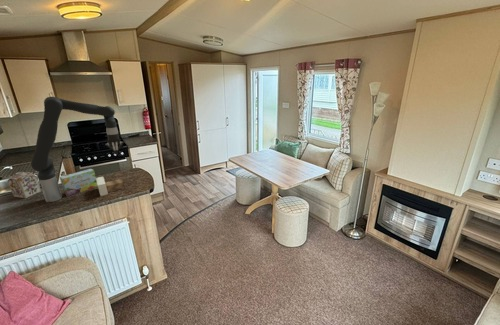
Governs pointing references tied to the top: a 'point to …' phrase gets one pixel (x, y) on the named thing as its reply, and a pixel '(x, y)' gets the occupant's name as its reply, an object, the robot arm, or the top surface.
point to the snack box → (78, 182)
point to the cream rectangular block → (102, 186)
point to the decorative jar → (24, 184)
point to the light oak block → (114, 185)
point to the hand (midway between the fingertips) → (116, 154)
